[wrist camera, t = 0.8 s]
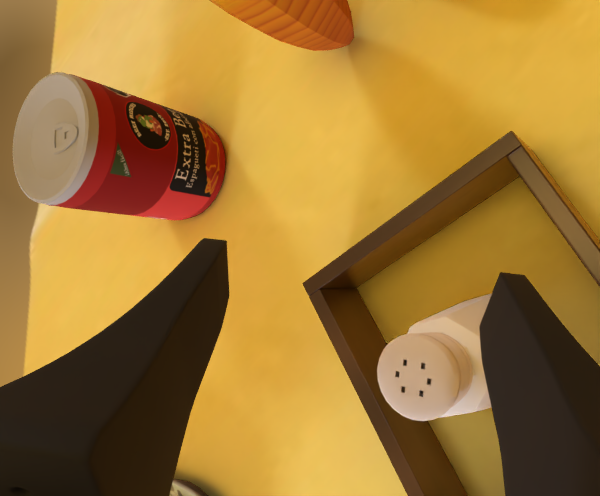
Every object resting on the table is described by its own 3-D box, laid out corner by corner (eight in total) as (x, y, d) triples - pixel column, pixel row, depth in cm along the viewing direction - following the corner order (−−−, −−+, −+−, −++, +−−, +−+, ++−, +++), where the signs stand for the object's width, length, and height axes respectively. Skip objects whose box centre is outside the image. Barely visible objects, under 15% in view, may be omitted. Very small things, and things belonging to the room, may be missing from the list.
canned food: (239, 196, 36) (98, 169, 27) (164, 237, 40) (19, 225, 31) (215, 99, 38) (75, 42, 29) (145, 147, 42) (4, 111, 33)
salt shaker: (443, 387, 28) (334, 439, 19) (451, 284, 28) (346, 285, 19) (557, 412, 24) (493, 489, 15) (566, 295, 25) (507, 304, 16)
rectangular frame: (747, 437, 21) (761, 467, 17) (472, 534, 26) (444, 570, 23) (531, 149, 26) (511, 129, 22) (340, 282, 31) (301, 283, 28)
